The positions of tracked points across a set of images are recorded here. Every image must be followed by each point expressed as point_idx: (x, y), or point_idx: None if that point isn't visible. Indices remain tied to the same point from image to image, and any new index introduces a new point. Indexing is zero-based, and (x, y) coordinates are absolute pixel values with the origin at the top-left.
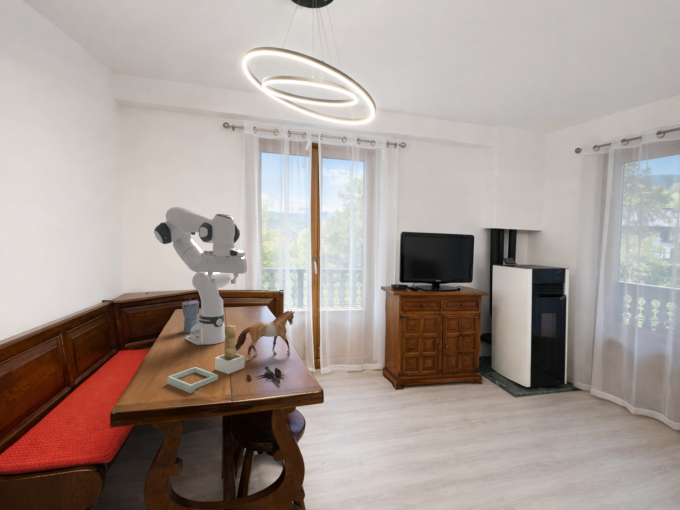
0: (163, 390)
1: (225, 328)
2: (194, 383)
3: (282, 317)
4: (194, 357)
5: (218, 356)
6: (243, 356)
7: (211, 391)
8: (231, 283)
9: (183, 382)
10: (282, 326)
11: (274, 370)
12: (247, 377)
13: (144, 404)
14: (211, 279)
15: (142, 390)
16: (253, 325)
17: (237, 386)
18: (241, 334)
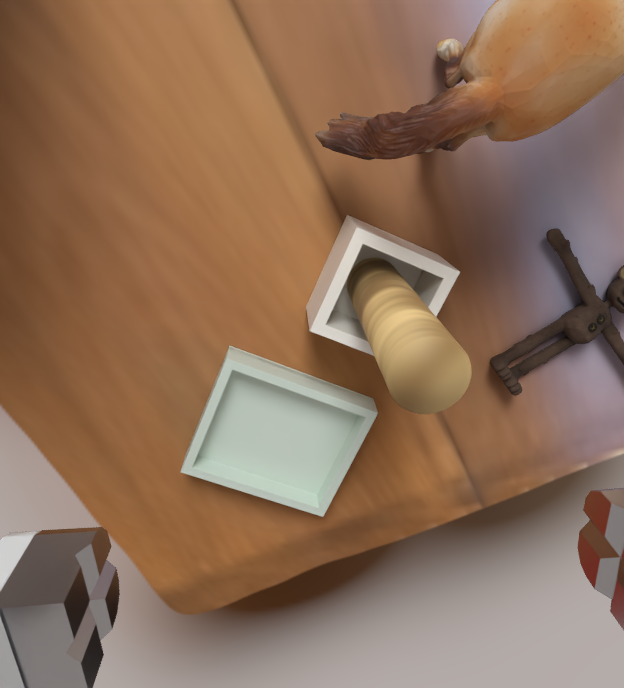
0: (212, 499)
1: (400, 403)
2: (326, 498)
3: None
4: (73, 141)
5: (319, 312)
6: (456, 278)
7: (387, 470)
8: (589, 552)
9: (280, 501)
10: None
11: (617, 306)
12: (500, 377)
13: (224, 580)
14: (41, 677)
15: (139, 514)
16: (532, 84)
17: (467, 416)
18: (418, 152)
